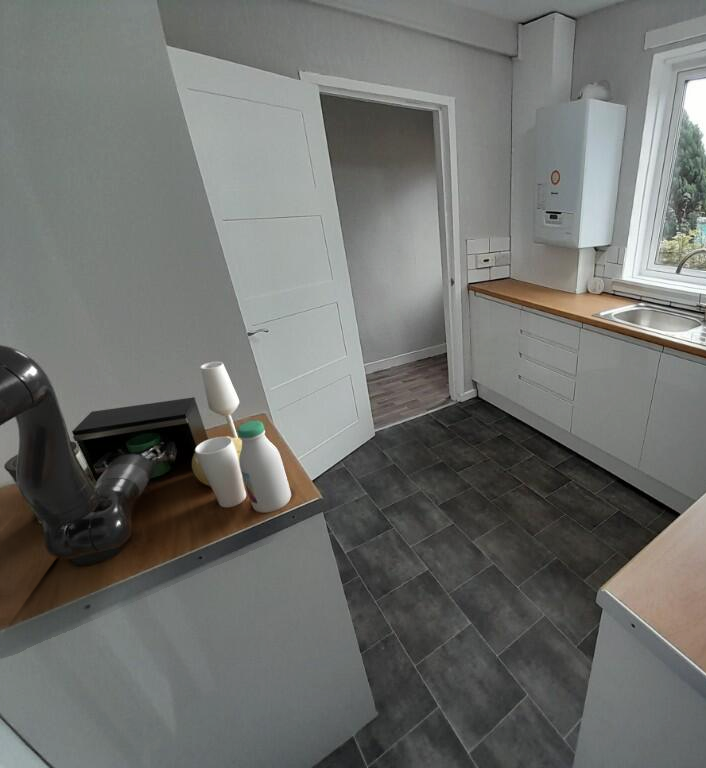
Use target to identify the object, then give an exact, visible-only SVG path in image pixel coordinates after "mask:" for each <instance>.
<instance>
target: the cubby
mask: <svg viewBox="0 0 706 768" xmlns="http://www.w3.org/2000/svg"><path fill="white" fill-rule="evenodd" d="M71 433H72V435H73V436H72V439H73V440H74V442H76V443H77V444H78V446H79V450H80V452H81V454H82V456H83V458H84V460H85V462H86V464H87V466H88V468H89V470H90V472H91V473H92V476H93V477H94V479H95V481H96V482H97V480H98V479H99V478H100V476H101V475H100V476H98V475H97V473H96V471H95V469H94V467H93V465H94V464H95V463H96V462H97V461H98V460H99V459H100V458H101V457H102V456H103V455H104V454H105V453H107V452H112V453H114V452H117V450H118V449H120V448H121V447H122V446H123V445H124V444H125V443H126V442H127V441H128V440H129V439H131V438H133V437H135V436H138V435H141V434H145V433H159V434H160V436H161V438H162V437H163V436H164V435H167V436H168V437H170V439H171V441H174V443H175V446H176V448H177V453H176V458H178V457H183V456H187V455H188V456H189V455H194V454H195V448H196V447H197V446H198V445H199V444H200V443H202V442H204V441H206V440H209V437H208V434H207V431H206V428H205V425H204V422H203V419H202V416H201V413H200V410H199V407H198V403H197V401H196V398H195V396H193V397H186V398H180V399H173V400H165V401H157V402H150V403H144V404H137V405H130V406H122V407H115V408H107V409H100V410H94V411H91V412H90V413H88V415H86V416H85V417H84V418H83V419H82V420H81V422H80V423H79V424H78V425H76V427H74V429H73V430H72V431H71Z"/></svg>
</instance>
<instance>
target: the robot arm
mask: <svg viewBox="0 0 706 768" xmlns="http://www.w3.org/2000/svg"><path fill="white" fill-rule="evenodd" d="M12 419H15V420H16V424H17V430H18V449H17V450H18V452H17V454H18V459H17V468H16V478H17V484H18V486H17V488H18V490H19V493H20V494H21V496H22V497H23V498H24V500H25V501H26V502H27V504H28V503H29V504H30V505H29V504H28V505H29V507H30V506H31V507H32V508H33V509H34V511H35V512H36V513H37V514H38V515H39V518H40V520H41V523H40V524H41V528H42V532H43V538H44V547H45V550H46V552H47V553H48V554H49V556H51V557H54V558H57V559H60V560H71V558H75V557H79V556H84V555H88V554H92V553H97V552H101V551H106V550H110V549H114V548H116V547H119V546H120V545H122V544H123V543H124V542H126V541H127V540H128V538H129V539H130V537H131V536H132V531H133V523H132V522H133V521H132V514H133V507H134V506H135V504H136V502H137V500H138V498H139V497H140V496H141V495H142V493H143V492H144V490H145V489H146V487H147V485H148V483H149V481H150V480H151V479H152V478H151V476H152V474H153V471H154V467H155V466H156V465H157V464H159V462H160V461H164V460H168V462H170V463H174V462H175V461H176V458H177V457H176V453H177V448H176V446H175V443H174V441H171V439H170V437H168V436H167V435H164V436H163V437H162V438H161V440H160V442H159V443H158V444H157V445H155V446H150V447H149V448H147V449H145V450H144V451H140V452H136V453H129V451H128V448H127V446H126V444H124V445H123V446H122V447H121V448H120V449H118V450H117V452H114V453H112V452H107V453H105V454H104V455H103V456H102V457H101V458H100V459H99V460H98V461H97V462H96V463H95V464H94V465H93V467H94V469H95V471H96V473H97V475H98V476H100V475H101V476H100V478H99V479H98V480H97V482H96V484H95V487H94V485H93V483H92V482H91V480H90V479H89V477H88V476H87V474H86V473H85V471H84V470H83V468H82V466H81V465H80V463H79V461H78V459H77V457H76V455H75V452H74V450H73V447H72V444H71V441H72V440H71V438H70V435H69V432H68V428H67V427H68V426H67V424H66V421H65V417H64V414H63V413H62V409H61V406H60V403H59V400H58V396H57V394H56V391H55V388H54V386H53V383H52V381H51V380H50V377H49V376H48V374H47V373H46V371H45V370H44V369H43V367H42V366H41V365H40V364H39V363H38V362H37V361H36V360H35V359H34V358H32V357H31V356H30V355H28V354H26V353H25V352H23V351H20V350H19V349H16V348H14V347H10V346H7V345H2V344H0V427H1V426H2V425H4V424H6V423H7V422H9V421H10V420H12ZM160 448H161V451H160V450H159V449H160ZM151 451H152V452H151ZM31 507H30V508H31Z"/></svg>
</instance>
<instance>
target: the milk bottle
mask: <svg viewBox="0 0 706 768" xmlns="http://www.w3.org/2000/svg"><path fill="white" fill-rule="evenodd" d="M236 432H237V436H238V438H240V439H241V440H242V449H241V453H240V457H239V464H240V469H241V473H242V476H243V483H244V487H245V490H246V493H247V495H248V498H249V501H250V503H251V507H252V508H253V510H254V511H256V512H258V513H261V514H263V513H264V514H265V513H272V512H275V511H278V510H279V509H282V508H283V507H285V506H286V505H287V504H288V503H289V502H290V500H291V497H292V492H291V488H290V484H289V480H288V477H287V474H286V470H285V467H284V462H283V460H282V457H281V454H280V451H279V450H278V448H277V447H276V446H275V445H274V443H272V442H271V441H270V440H269V438H268V437H267V436H266V430H265V426H264V423H263V422H262V421H260V420H250V421H247V422H244V423H242V424H240V425H238V427H237V431H236Z"/></svg>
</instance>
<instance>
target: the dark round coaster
mask: <svg viewBox="0 0 706 768" xmlns="http://www.w3.org/2000/svg"><path fill="white" fill-rule="evenodd" d="M129 541H130V537H129V538H128V540H127V541H126V542H124V543H123V544H122V545H120V546H119V547H116V548H114V549H110V550H106V551H101V552H97V553H92V554H88V555H84V556H79V557H75V558H70V560H71V562H72V563H73V564H74V565H75V566H80V567H84V566H92V565H95V564H98V563H102V562H104V561H106V560H108V559H110V558H112V557H114V556H115V555H117V554H118V553H120V552H121V551H122V550H123V549H125V547H126V546H127V545H128V544H129Z"/></svg>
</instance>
